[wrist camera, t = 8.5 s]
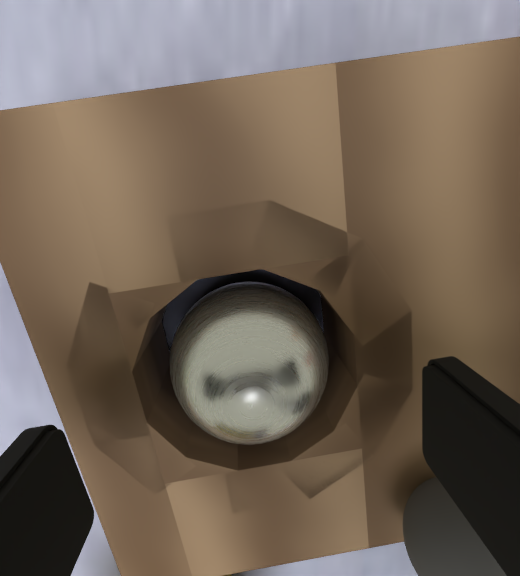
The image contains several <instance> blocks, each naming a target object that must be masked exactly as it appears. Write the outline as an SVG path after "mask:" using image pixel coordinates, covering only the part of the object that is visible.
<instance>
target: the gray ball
mask: <svg viewBox="0 0 520 576" xmlns="http://www.w3.org/2000/svg"><path fill="white" fill-rule="evenodd" d="M403 536H404V542H405V546H406V549H407V553H408V556H409V558H410V560H411V563H412V565H413V567H414V569H415V570H416V572H417V574H418V576H507V575H506V574H505V572H504V571H503V570H502V568H501V567H500V565H499V564H498V563H497V561H496V560H495V558H494V557H493V556H492V554H491V553H490V551H489V550H488V549H487V547H486V546H485V544H484V543H483V542H482V540H481V539H480V537H479V536H478V535H477V533H476V532H475V530H474V529H473V528H472V526H471V525H470V523H469V522H468V521H467V519H466V518H465V516H464V515H463V514H462V512H461V511H460V509H459V508H458V507H457V505H456V504H455V502H454V501H453V500H452V498H451V497H450V495H449V494H448V493H447V491H446V490H445V488H444V487H443V486H442V484H441V483H440V481H439V480H438V479H437V477H434V478H431V479H429V480H426V481H425V482H423V483H422V484H420V485H419V486H418V487H417V488H416V489H415V490H414V491H413V493H412V494H411V495H410V497H409V499H408V501H407V503H406V506H405V509H404V514H403Z"/></svg>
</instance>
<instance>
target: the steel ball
mask: <svg viewBox="0 0 520 576" xmlns="http://www.w3.org/2000/svg"><path fill="white" fill-rule="evenodd" d="M328 368H329V355H328V349H327V343H326V339H325V336H324V333H323V331H322V329H321V327H320V325H319V323H318V321H317V319H316V318H315V316H314V315H313V313H312V312H311V311H310V310H309V309H308V307H307V306H306V305H305V304H304V303H303V302H302V301H301V300H299V299H298V298H297V297H296V296H294V295H293V294H291V293H289V292H288V291H286V290H284V289H281V288H279V287H277V286H274V285H271V284H267V283H262V282H248V281H247V282H237V283H233V284H228V285H225V286H223V287H220V288H218V289H216V290H214V291H212V292H210V293H208V294H207V295H205V296H204V297H203V298H201V299H200V300H199V301H198V302H196V303H195V304H194V305H193V306H192V307H191V308H190V310H189V311H188V312H187V313H186V315H185V316H184V318H183V319H182V321H181V323H180V324H179V326H178V328H177V331H176V333H175V335H174V339H173V343H172V346H171V351H170V376H171V382H172V385H173V389H174V392H175V395H176V397H177V399H178V401H179V403H180V405H181V406H182V408H183V409H184V411H185V412H186V414H187V415H188V416H189V418H190V419H191V420H192V421H193V422H194V423H195V424H196V425H198V426H199V427H200V428H201V429H203V430H204V431H205V432H207V433H209V434H210V435H212V436H214V437H216V438H218V439H221V440H224V441H227V442H231V443H235V444H245V445H250V444H262V443H266V442H270V441H273V440H276V439H279V438H281V437H283V436H285V435H287V434H289V433H291V432H292V431H294V430H295V429H296V428H298V427H299V426H300V425H301V424H302V423H303V422H304V421H305V420H306V419H307V418H308V417H309V416H310V415H311V413H312V412H313V411H314V409H315V408H316V406H317V404H318V403H319V401H320V399H321V396H322V394H323V391H324V389H325V386H326V382H327V376H328Z"/></svg>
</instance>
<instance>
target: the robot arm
mask: <svg viewBox="0 0 520 576" xmlns="http://www.w3.org/2000/svg"><path fill="white" fill-rule="evenodd" d="M422 450H423V455H424V458H425V460H426V463H427V464H428V466H429V467H430V469H431V470H432V472H433V473H434V474H435V476H436V477H437V479H438V480H439V481H440V483H441V484H442V486H443V487H444V488H445V490H446V491H447V493H448V494H449V495H450V497H451V498H452V500H453V501H454V502H455V504H456V505H457V507H458V508H459V509H460V511H461V512H462V514H463V515H464V516H465V518H466V519H467V521H468V522H469V523H470V525H471V526H472V528H473V529H474V530H475V532H476V533H477V535H478V536H479V537H480V539H481V540H482V542H483V543H484V544H485V546H486V547H487V549H488V550H489V551H490V553H491V554H492V556H493V557H494V558H495V560H496V561H497V563H498V564H499V565H500V567H501V568H502V570H503V571H504V572H505V574H506V575H507V576H520V404H519V403H517V402H516V401H515V400H513V399H512V398H511V397H509V396H508V395H507V394H505V393H504V392H503V391H501V390H500V389H498V388H497V387H496V386H494V385H493V384H492V383H490V382H489V381H488V380H486V379H485V378H483V377H482V376H481V375H479V374H478V373H477V372H475V371H474V370H473V369H471V368H470V367H469V366H467V365H466V364H464V363H463V362H462V361H460V360H459V359H458V358H456V357H454V356H449V357H443V358H437V359H431V360H429V362H428V364H427V366H425V367H423V369H422ZM93 519H94V510H93V507H92V504H91V502H90V499H89V496H88V494H87V491H86V489H85V486H84V484H83V481H82V478H81V476H80V473H79V471H78V468H77V465H76V463H75V460H74V458H73V455H72V453H71V450H70V447H69V445H68V442H67V440H66V437H65V434H64V433H63V431H62V430H59V429H57V428H56V427H55V426H54V425H46V426H40V427H34V428H29V429H26V430H24V431H23V432H22V433H21V434H20V435H19V436H18V437H17V439H16V440H15V441H14V442H13V443H12V444H11V445H10V446H9V447H8V449H7V450H6V451H5V452H4V453H3V454H2V455H1V456H0V576H70V575H71V573H72V571H73V568H74V566H75V564H76V561H77V559H78V557H79V555H80V552H81V550H82V548H83V545H84V543H85V541H86V538H87V536H88V534H89V531H90V529H91V527H92V524H93Z"/></svg>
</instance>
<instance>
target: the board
mask: <svg viewBox="0 0 520 576" xmlns="http://www.w3.org/2000/svg"><path fill="white" fill-rule="evenodd" d="M0 262H1V265H2V268H3V270H4V273H5V275H6V278H7V281H8V283H9V286H10V288H11V291H12V294H13V296H14V299H15V301H16V304H17V307H18V309H19V312H20V314H21V317H22V320H23V322H24V325H25V327H26V330H27V333H28V335H29V338H30V340H31V343H32V345H33V348H34V351H35V353H36V356H37V358H38V361H39V364H40V366H41V369H42V371H43V374H44V377H45V379H46V382H47V384H48V387H49V390H50V392H51V395H52V397H53V400H54V403H55V405H56V408H57V410H58V413H59V416H60V418H61V421H62V423H63V426H64V429H65V431H66V434H67V436H68V439H69V442H70V444H71V447H72V449H73V452H74V455H75V457H76V460H77V462H78V465H79V468H80V470H81V473H82V475H83V478H84V481H85V483H86V486H87V488H88V491H89V494H90V496H91V499H92V501H93V504H94V507H95V509H96V512H97V514H98V517H99V520H100V522H101V525H102V527H103V530H104V533H105V535H106V538H107V540H108V543H109V546H110V548H111V551H112V553H113V556H114V558H115V561H116V564H117V566H118V569H119V571H120V574H121V576H223V575H228V574H234V573H239V572H244V571H250V570H255V569H260V568H266V567H271V566H276V565H282V564H287V563H292V562H297V561H303V560H308V559H313V558H319V557H324V556H329V555H335V554H340V553H345V552H351V551H356V550H361V549H367V548H372V547H377V546H383V545H388V544H393V543H398V542H404V536H403V514H404V509H405V506H406V503H407V501H408V499H409V497H410V495H411V494H412V493H413V491H414V490H415V489H416V488H417V487H418V486H419V485H420V484H422V483H423V482H425V481H426V480H429V479H431V478H434V477H436V476H435V474H434V473H433V472H432V470H431V469H430V467H429V466H428V464H427V463H426V460H425V458H424V455H423V450H422V369H423V367H425V366H427V364H428V362H429V360H431V359H437V358H443V357H449V356H454V357H456V358H458V359H459V360H460V361H462V362H463V363H464V364H466V365H467V366H469V367H470V368H471V369H473V370H474V371H475V372H477V373H478V374H479V375H481V376H482V377H483V378H485V379H486V380H488V381H489V382H490V383H492V384H493V385H494V386H496V387H497V388H498V389H500V390H501V391H503V392H504V393H505V394H507V395H508V396H509V397H511V398H512V399H513V400H515V401H516V402H517V403H519V404H520V37H514V38H507V39H500V40H493V41H486V42H479V43H472V44H465V45H458V46H451V47H444V48H437V49H430V50H422V51H415V52H408V53H401V54H394V55H387V56H380V57H373V58H366V59H359V60H352V61H345V62H338V63H331V64H324V65H317V66H310V67H303V68H296V69H289V70H282V71H275V72H268V73H261V74H254V75H247V76H239V77H232V78H225V79H218V80H211V81H204V82H197V83H190V84H183V85H176V86H169V87H162V88H155V89H148V90H141V91H134V92H127V93H120V94H113V95H106V96H99V97H92V98H85V99H78V100H71V101H64V102H57V103H49V104H42V105H35V106H28V107H21V108H14V109H7V110H0ZM259 269H263V270H266V271H269V272H271V273H274V274H277V275H279V276H282V277H285V278H287V279H290V280H293V281H296V282H298V283H301V284H304V285H306V286H309V287H312V288H314V289H316V290H317V291H318V293H319V294H320V296H321V306H322V317H323V327H324V336H325V339H326V343H327V349H328V355H329V368H328V376H327V382H326V386H325V389H324V391H323V394H322V396H321V399H320V401H319V403H318V404H317V406H316V408H315V409H314V411H313V412H312V413H311V415H310V416H309V417H308V418H307V419H306V420H305V421H304V422H303V423H302V424H301V425H300V426H299V427H298V428H296V429H295V430H294V431H292V432H291V433H289V434H287V435H285V436H283V437H281V438H279V439H276V440H273V441H270V442H266V443H262V444H250V445H245V444H235V443H231V442H227V441H224V440H221V439H218V438H216V437H214V436H212V435H210V434H209V433H207V432H205V431H204V430H203V429H201V428H200V427H199V426H198V425H196V424H195V423H194V422H193V421H192V420H191V419H190V418H189V416H188V415H187V414H186V412H185V411H184V409H183V408H182V406H181V405H180V403H179V401H178V399H177V397H176V395H175V392H174V389H173V385H172V382H171V376H170V352H169V348H168V344H167V340H166V336H165V332H164V328H163V324H162V319H163V316H164V313H165V310H166V307H167V304H168V303H169V302H171V301H172V300H173V299H174V298H175V297H177V296H178V295H179V294H180V293H182V292H183V291H184V290H185V289H187V288H188V287H189V286H190V285H191V284H193V283H194V282H195V281H196V280H198V279H203V278H209V277H216V276H222V275H228V274H234V273H241V272H247V271H253V270H259Z"/></svg>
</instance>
